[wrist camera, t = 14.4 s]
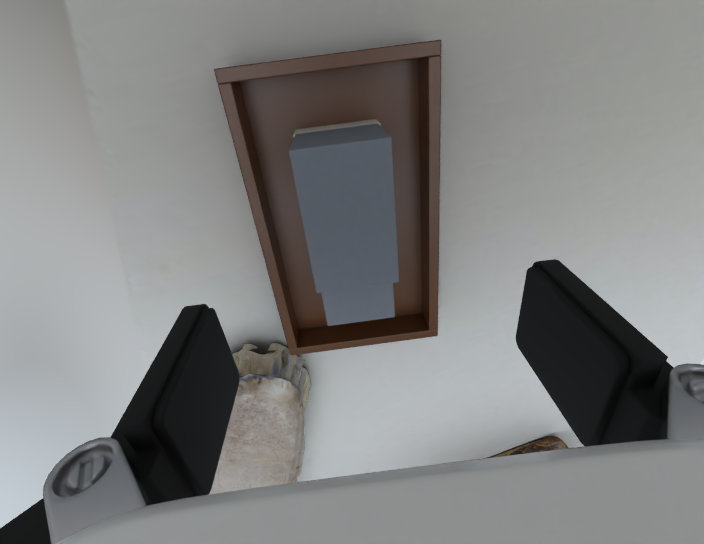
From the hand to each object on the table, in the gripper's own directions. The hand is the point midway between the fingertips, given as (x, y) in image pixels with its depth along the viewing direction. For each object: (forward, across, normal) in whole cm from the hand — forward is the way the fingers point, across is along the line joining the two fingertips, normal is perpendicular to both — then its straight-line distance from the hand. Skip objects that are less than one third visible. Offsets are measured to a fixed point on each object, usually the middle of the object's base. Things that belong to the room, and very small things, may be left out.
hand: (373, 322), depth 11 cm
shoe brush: (+12, +10, +22) cm, 27 cm away
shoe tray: (+13, 0, +2) cm, 13 cm away
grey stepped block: (+12, 0, +2) cm, 12 cm away
